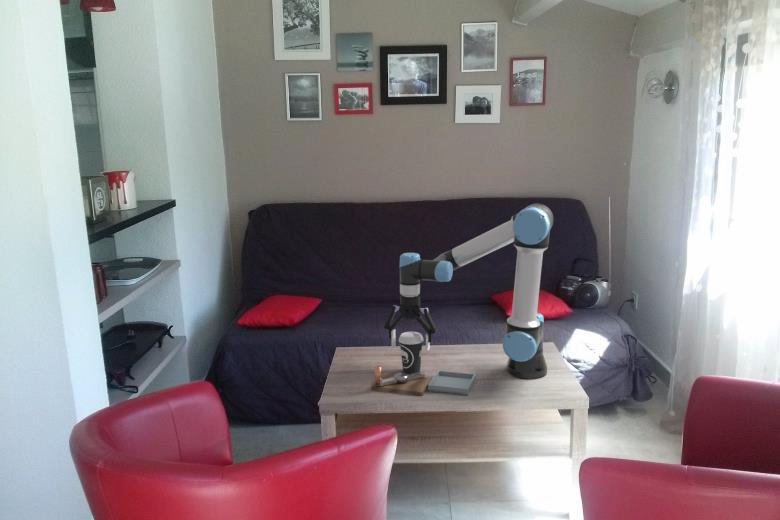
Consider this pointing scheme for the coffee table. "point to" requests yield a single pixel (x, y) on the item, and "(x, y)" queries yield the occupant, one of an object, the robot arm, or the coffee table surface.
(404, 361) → the coffee cup
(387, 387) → the crank base
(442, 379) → the tray
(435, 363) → the coffee table surface
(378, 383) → the crank
